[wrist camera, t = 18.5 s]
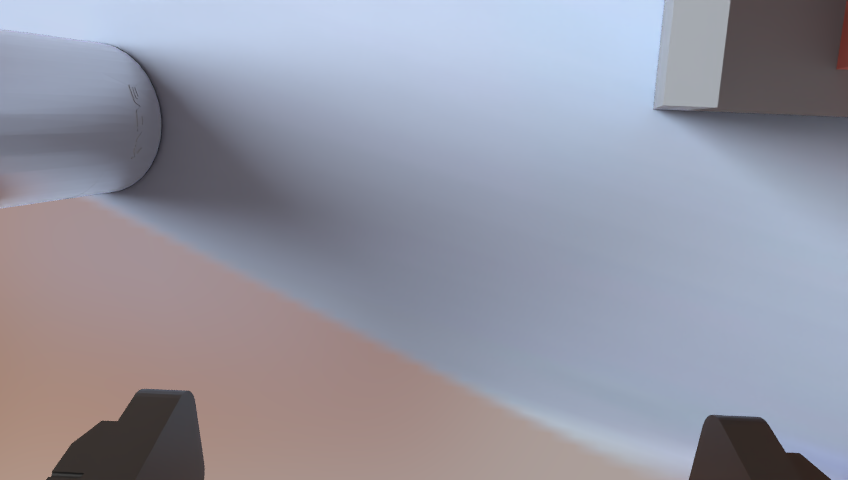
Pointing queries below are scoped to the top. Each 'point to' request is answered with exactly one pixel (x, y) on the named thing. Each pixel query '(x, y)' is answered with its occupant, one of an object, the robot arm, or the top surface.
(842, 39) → the tall coral upright block
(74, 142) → the robot arm
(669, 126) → the top surface
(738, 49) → the grey peg stand
